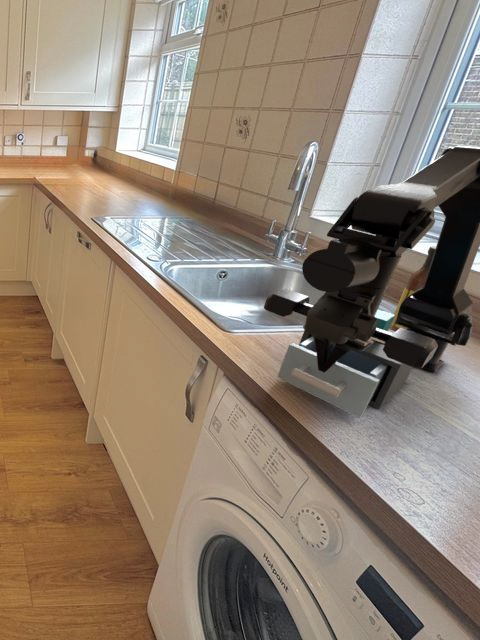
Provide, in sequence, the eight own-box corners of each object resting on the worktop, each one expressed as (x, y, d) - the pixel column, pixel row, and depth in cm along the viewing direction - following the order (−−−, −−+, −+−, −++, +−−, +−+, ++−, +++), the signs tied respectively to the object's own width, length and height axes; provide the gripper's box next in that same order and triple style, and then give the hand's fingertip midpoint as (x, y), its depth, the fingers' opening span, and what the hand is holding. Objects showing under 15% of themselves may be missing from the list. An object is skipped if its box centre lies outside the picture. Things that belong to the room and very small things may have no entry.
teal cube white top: (353, 325, 74) (362, 304, 73) (385, 337, 71) (395, 315, 69) (343, 331, 72) (353, 309, 71) (376, 344, 69) (387, 321, 67)
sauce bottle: (435, 344, 86) (481, 256, 79) (400, 340, 87) (443, 253, 80) (410, 328, 92) (451, 245, 85) (378, 325, 93) (416, 242, 86)
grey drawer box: (378, 409, 66) (400, 364, 63) (290, 367, 76) (305, 327, 73) (404, 382, 73) (425, 341, 70) (320, 347, 83) (335, 310, 80)
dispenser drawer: (349, 428, 61) (367, 391, 58) (265, 384, 70) (277, 351, 67) (386, 392, 69) (403, 358, 67) (307, 357, 78) (319, 326, 76)
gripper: (262, 267, 62) (234, 354, 67) (438, 323, 47) (384, 428, 53) (294, 256, 67) (266, 337, 73) (461, 302, 53) (410, 399, 58)
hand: (322, 370), depth 64 cm, fingers closed
